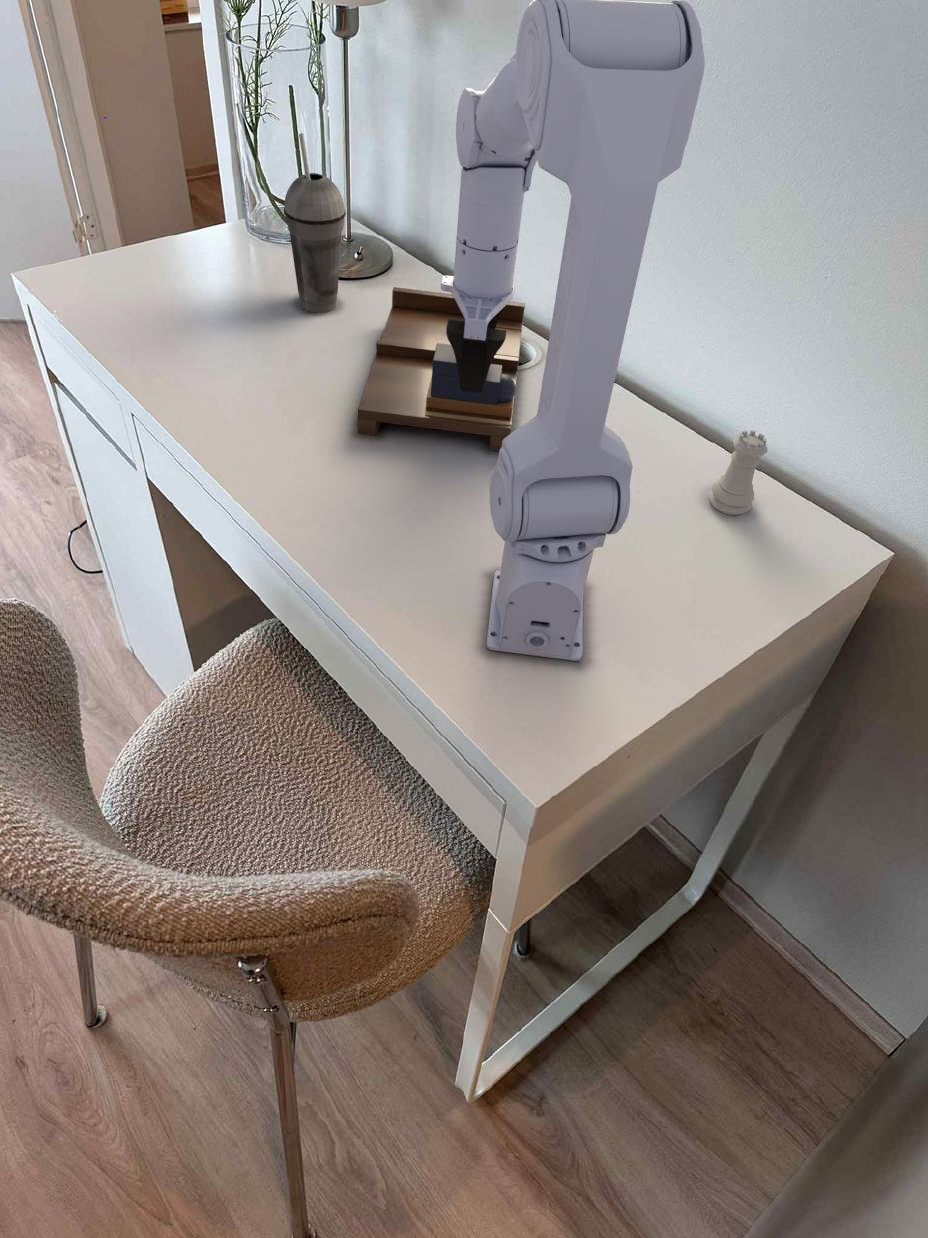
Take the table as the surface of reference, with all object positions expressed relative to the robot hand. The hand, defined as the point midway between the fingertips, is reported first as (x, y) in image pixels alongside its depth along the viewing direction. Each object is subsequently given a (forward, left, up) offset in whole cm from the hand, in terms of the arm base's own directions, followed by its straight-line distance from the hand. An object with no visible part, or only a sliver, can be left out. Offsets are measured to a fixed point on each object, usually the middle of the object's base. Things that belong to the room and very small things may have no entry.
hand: (474, 370), depth 91 cm
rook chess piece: (-8, -27, -7) cm, 29 cm away
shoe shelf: (+8, +4, -7) cm, 11 cm away
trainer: (0, 0, -4) cm, 4 cm away
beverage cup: (+23, +22, -7) cm, 32 cm away
